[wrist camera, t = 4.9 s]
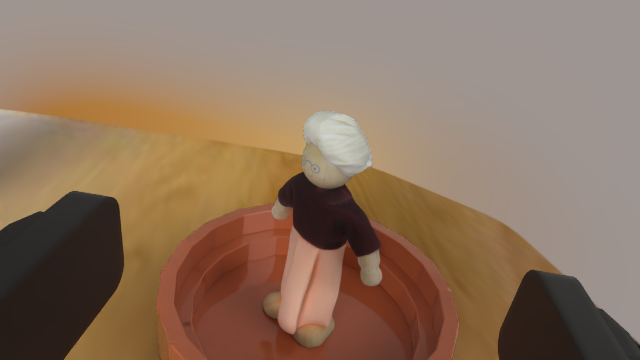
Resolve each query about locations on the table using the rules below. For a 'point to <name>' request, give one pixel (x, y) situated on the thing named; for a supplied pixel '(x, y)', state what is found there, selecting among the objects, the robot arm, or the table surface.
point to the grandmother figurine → (323, 228)
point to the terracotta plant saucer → (266, 277)
